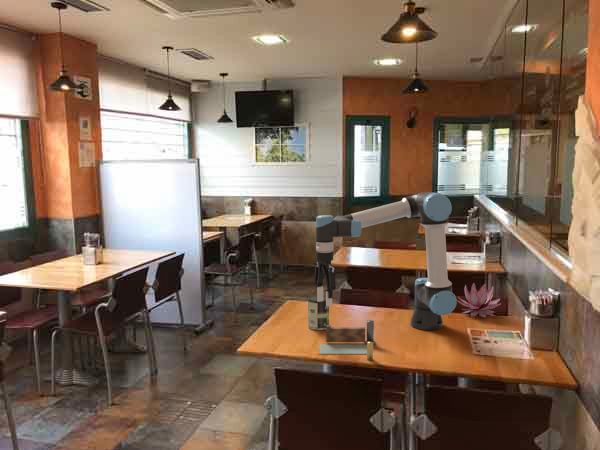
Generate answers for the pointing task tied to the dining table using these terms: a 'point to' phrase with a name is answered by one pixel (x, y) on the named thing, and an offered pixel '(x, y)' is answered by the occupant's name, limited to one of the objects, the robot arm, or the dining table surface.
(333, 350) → the mat
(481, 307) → the decorative flower
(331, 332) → the gate
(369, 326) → the hinge post
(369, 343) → the post
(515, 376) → the dining table surface
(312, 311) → the coffee can
